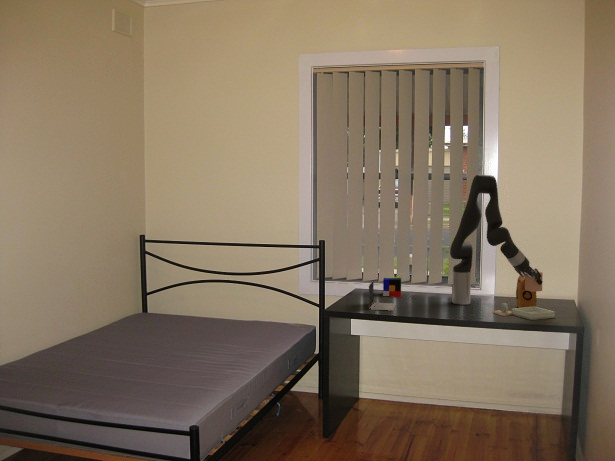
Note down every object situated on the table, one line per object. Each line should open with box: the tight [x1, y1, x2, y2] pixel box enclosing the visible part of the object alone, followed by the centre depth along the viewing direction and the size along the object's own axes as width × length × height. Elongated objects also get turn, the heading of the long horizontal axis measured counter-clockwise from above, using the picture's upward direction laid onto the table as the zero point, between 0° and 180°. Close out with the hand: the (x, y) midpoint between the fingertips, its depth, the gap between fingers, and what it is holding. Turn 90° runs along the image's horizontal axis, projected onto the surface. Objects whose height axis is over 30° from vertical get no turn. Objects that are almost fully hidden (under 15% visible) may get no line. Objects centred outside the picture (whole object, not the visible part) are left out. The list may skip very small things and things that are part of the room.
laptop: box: [368, 280, 397, 312], centre depth 334 cm, size 18×12×13 cm
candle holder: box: [492, 302, 514, 317], centre depth 316 cm, size 8×8×5 cm
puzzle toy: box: [382, 276, 402, 298], centre depth 368 cm, size 10×10×10 cm
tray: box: [511, 306, 556, 321], centre depth 310 cm, size 14×14×3 cm
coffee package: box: [515, 273, 537, 308], centre depth 328 cm, size 10×12×22 cm
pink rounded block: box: [525, 271, 544, 293], centre depth 309 cm, size 6×7×9 cm
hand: (536, 282), depth 310 cm, fingers closed on pink rounded block, 5 cm apart
